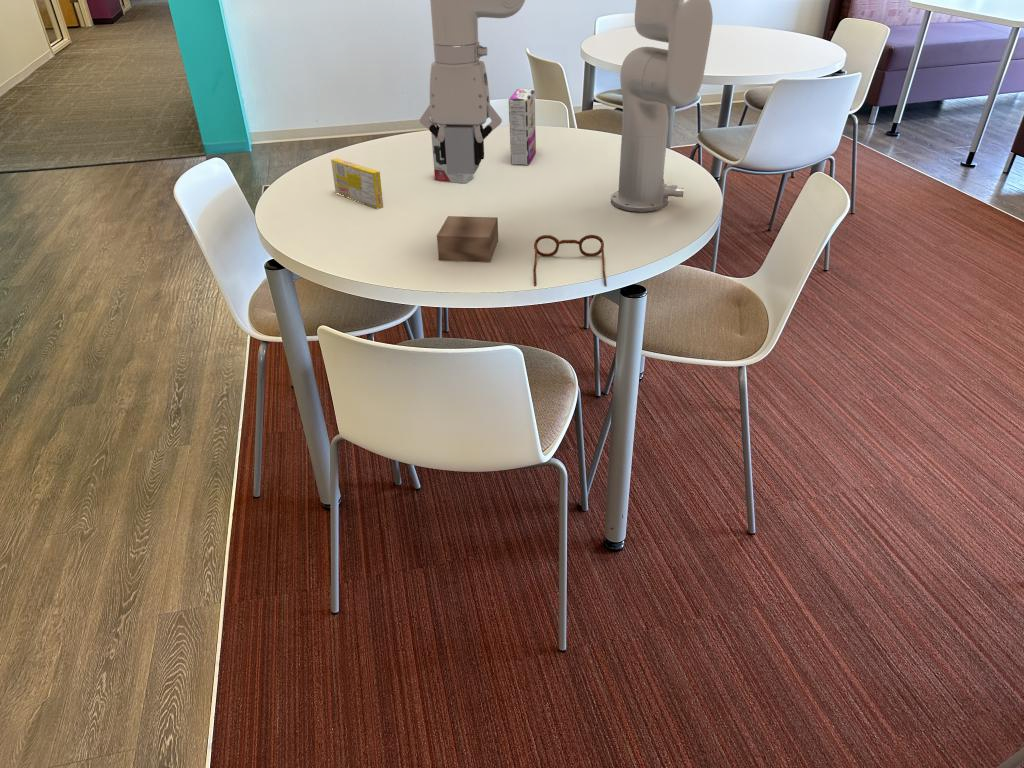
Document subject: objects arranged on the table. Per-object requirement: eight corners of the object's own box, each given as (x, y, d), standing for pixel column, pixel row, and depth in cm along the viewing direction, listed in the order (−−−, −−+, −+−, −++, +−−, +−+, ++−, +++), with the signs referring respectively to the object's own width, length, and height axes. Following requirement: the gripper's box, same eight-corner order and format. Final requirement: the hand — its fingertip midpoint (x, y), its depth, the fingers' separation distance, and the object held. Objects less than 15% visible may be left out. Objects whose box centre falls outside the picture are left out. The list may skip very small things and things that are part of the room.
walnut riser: (498, 241, 144) (497, 217, 141) (490, 262, 136) (489, 237, 133) (449, 239, 145) (448, 216, 142) (438, 260, 137) (436, 235, 134)
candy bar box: (518, 152, 193) (516, 88, 184) (536, 153, 192) (535, 88, 183) (509, 165, 184) (507, 98, 175) (528, 166, 183) (527, 98, 174)
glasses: (603, 257, 137) (604, 232, 134) (607, 288, 127) (608, 262, 124) (534, 257, 138) (534, 233, 135) (532, 288, 127) (532, 262, 124)
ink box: (433, 180, 176) (429, 131, 169) (442, 174, 180) (438, 126, 173) (465, 184, 173) (462, 134, 166) (473, 177, 177) (471, 128, 170)
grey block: (479, 165, 133) (477, 121, 129) (474, 174, 129) (472, 128, 125) (452, 164, 134) (450, 120, 129) (447, 173, 130) (443, 128, 125)
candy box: (385, 207, 162) (380, 170, 157) (377, 210, 161) (372, 173, 156) (342, 191, 171) (336, 157, 167) (335, 194, 170) (329, 159, 165)
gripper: (509, 50, 122) (512, 157, 133) (413, 50, 125) (422, 155, 135) (503, 58, 116) (506, 170, 127) (401, 58, 119) (412, 167, 129)
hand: (462, 161), depth 131 cm, fingers closed on grey block, 5 cm apart
